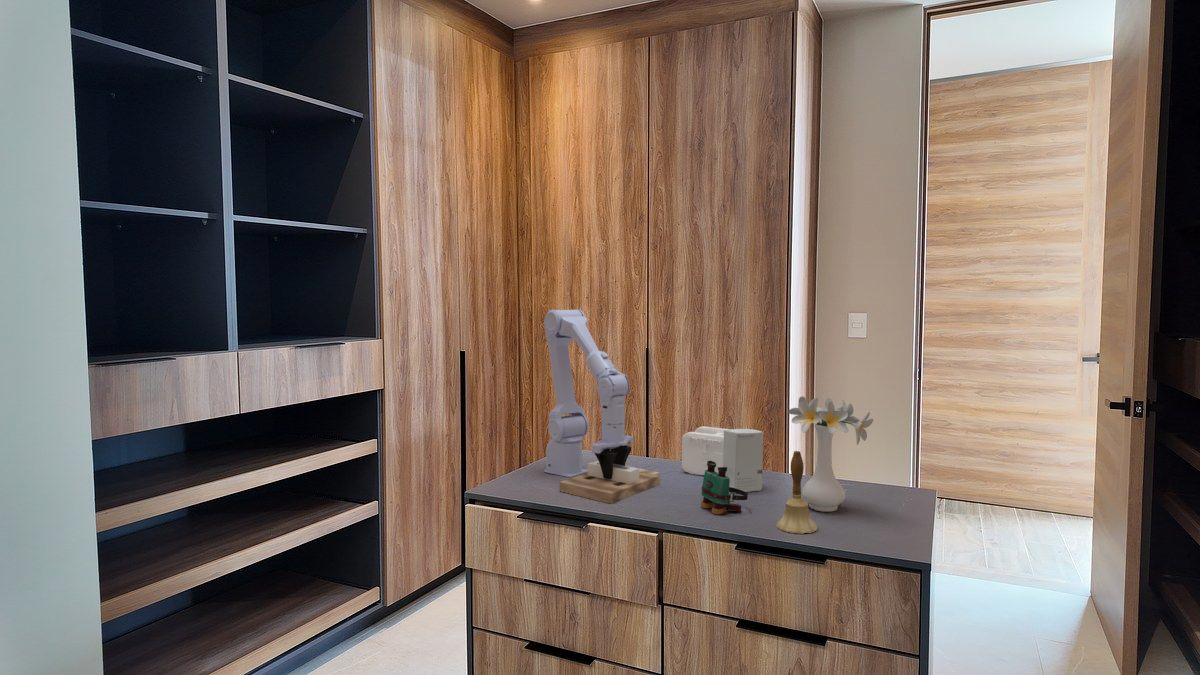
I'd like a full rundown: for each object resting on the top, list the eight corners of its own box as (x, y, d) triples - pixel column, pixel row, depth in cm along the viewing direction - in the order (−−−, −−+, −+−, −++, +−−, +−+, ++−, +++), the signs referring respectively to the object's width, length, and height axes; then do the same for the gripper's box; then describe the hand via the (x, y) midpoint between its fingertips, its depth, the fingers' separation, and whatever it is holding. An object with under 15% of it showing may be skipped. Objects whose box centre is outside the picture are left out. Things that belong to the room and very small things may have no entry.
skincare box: (734, 494, 171) (735, 433, 170) (721, 487, 176) (722, 429, 175) (763, 490, 174) (764, 431, 173) (749, 484, 179) (750, 426, 179)
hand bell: (771, 529, 145) (772, 453, 144) (782, 518, 152) (784, 445, 151) (812, 537, 141) (813, 458, 140) (821, 525, 148) (823, 450, 147)
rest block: (633, 478, 185) (633, 470, 185) (639, 475, 187) (639, 468, 187) (653, 482, 181) (653, 474, 181) (659, 479, 183) (659, 472, 183)
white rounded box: (747, 473, 191) (748, 431, 190) (732, 482, 182) (733, 437, 181) (696, 466, 199) (697, 425, 198) (679, 474, 190) (680, 431, 189)
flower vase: (863, 522, 150) (867, 406, 148) (778, 508, 159) (780, 399, 157) (874, 507, 161) (877, 398, 159) (793, 494, 170) (796, 392, 169)
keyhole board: (609, 475, 188) (609, 466, 188) (659, 485, 178) (659, 476, 178) (559, 491, 172) (559, 481, 172) (611, 503, 163) (611, 493, 162)
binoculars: (756, 468, 157) (718, 468, 153) (752, 515, 157) (713, 516, 153) (734, 459, 165) (697, 459, 161) (729, 504, 165) (692, 504, 161)
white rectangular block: (587, 482, 179) (587, 463, 178) (597, 479, 182) (597, 460, 181) (629, 491, 171) (629, 471, 170) (639, 487, 174) (639, 468, 173)
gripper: (608, 429, 167) (608, 485, 168) (643, 420, 178) (642, 473, 179) (585, 425, 171) (585, 480, 172) (620, 417, 183) (620, 469, 184)
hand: (612, 476), depth 176 cm, fingers closed on white rectangular block, 4 cm apart
